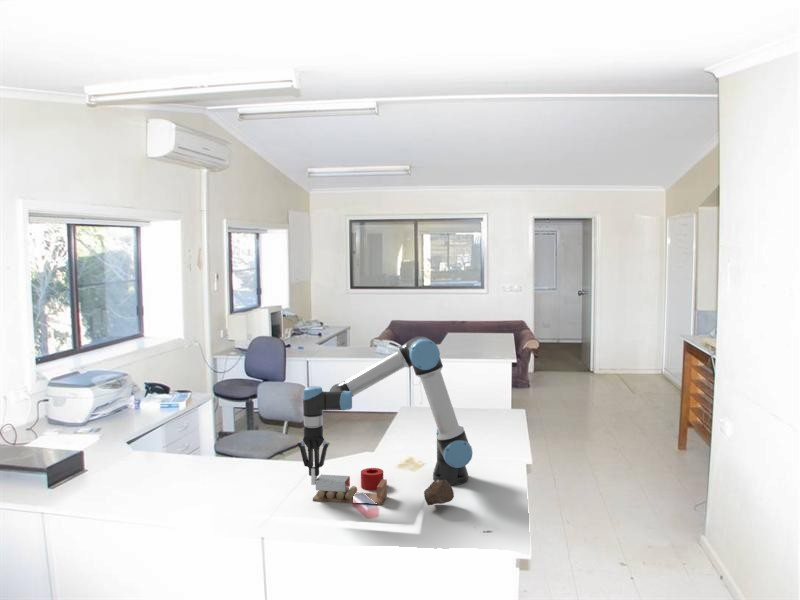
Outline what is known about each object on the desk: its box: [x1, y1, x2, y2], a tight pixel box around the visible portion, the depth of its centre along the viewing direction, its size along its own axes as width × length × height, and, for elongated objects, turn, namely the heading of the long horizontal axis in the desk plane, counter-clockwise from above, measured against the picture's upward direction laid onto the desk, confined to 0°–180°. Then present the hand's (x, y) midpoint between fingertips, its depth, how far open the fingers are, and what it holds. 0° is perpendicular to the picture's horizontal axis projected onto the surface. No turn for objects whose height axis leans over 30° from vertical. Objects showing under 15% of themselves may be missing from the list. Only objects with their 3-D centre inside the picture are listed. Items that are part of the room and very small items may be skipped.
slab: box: [315, 474, 351, 492], centre depth 245 cm, size 12×7×4 cm, turn 79°
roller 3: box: [345, 485, 358, 500], centre depth 244 cm, size 8×3×3 cm
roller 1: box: [316, 490, 328, 498], centre depth 246 cm, size 8×3×3 cm, turn 169°
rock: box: [423, 480, 455, 506], centre depth 237 cm, size 12×10×10 cm
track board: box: [312, 478, 388, 506], centre depth 244 cm, size 28×9×7 cm, turn 79°
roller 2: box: [336, 487, 350, 500], centre depth 245 cm, size 8×3×3 cm, turn 169°
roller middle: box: [326, 491, 337, 499], centre depth 245 cm, size 8×3×3 cm, turn 169°
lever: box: [360, 467, 384, 492], centre depth 262 cm, size 18×9×7 cm, turn 18°
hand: (314, 483), depth 247 cm, fingers closed
